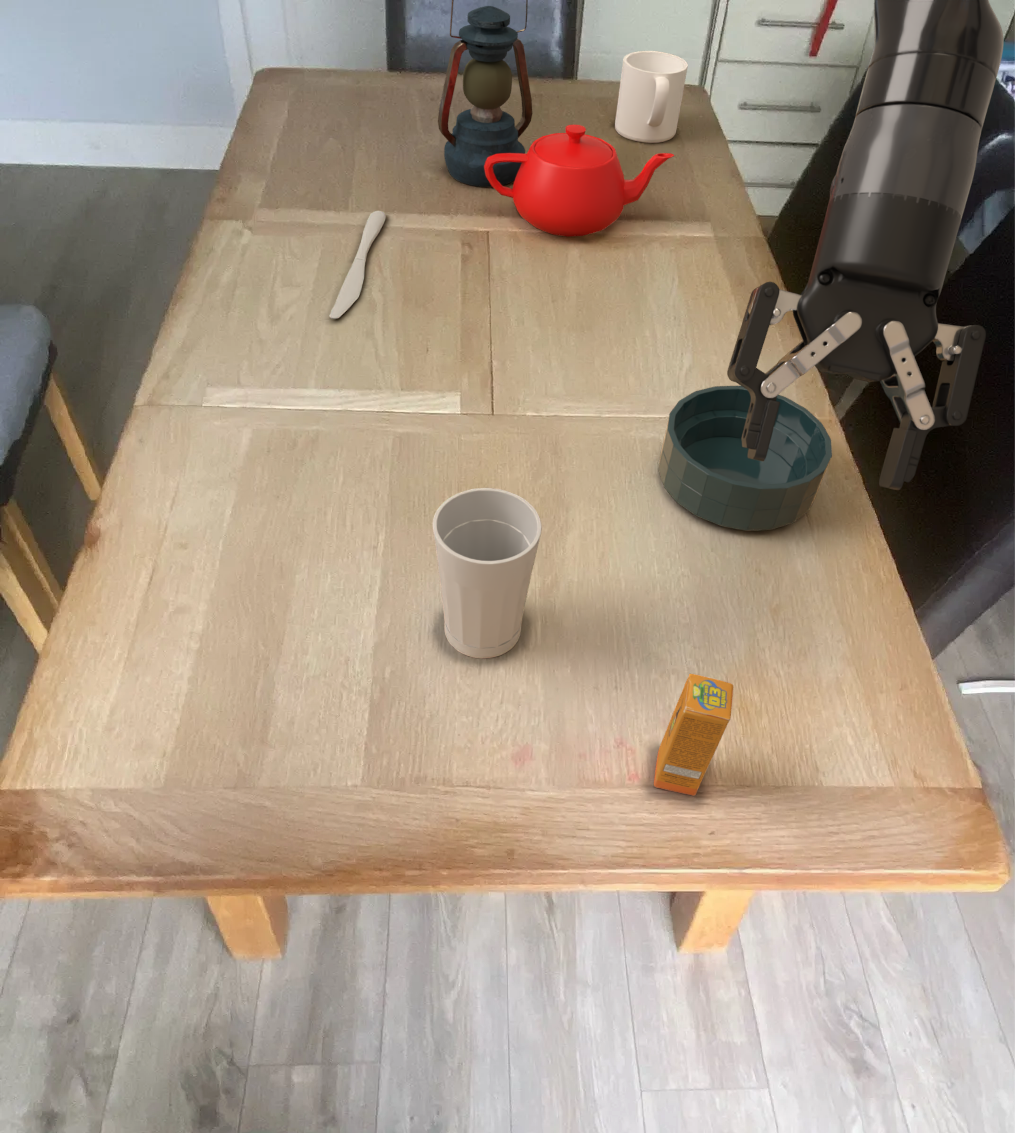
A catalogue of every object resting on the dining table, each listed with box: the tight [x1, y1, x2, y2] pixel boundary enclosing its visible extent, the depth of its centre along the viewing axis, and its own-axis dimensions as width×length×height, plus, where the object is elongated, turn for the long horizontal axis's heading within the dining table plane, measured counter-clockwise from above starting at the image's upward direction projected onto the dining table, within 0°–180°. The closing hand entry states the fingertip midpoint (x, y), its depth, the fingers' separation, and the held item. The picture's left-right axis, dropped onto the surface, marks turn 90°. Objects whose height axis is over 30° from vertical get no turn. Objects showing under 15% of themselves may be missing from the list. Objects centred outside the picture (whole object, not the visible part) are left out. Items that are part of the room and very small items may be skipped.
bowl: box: [657, 385, 833, 532], centre depth 87 cm, size 15×15×6 cm
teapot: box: [484, 124, 675, 238], centre depth 121 cm, size 25×16×12 cm, turn 90°
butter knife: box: [328, 210, 387, 320], centre depth 114 cm, size 1×27×3 cm
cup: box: [432, 487, 543, 659], centre depth 70 cm, size 8×8×12 cm
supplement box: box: [653, 673, 734, 797], centre depth 63 cm, size 3×3×10 cm
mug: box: [614, 50, 689, 144], centre depth 143 cm, size 13×10×10 cm
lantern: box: [437, 0, 534, 188], centre depth 121 cm, size 14×12×35 cm
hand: (822, 473), depth 57 cm, fingers open, 8 cm apart
